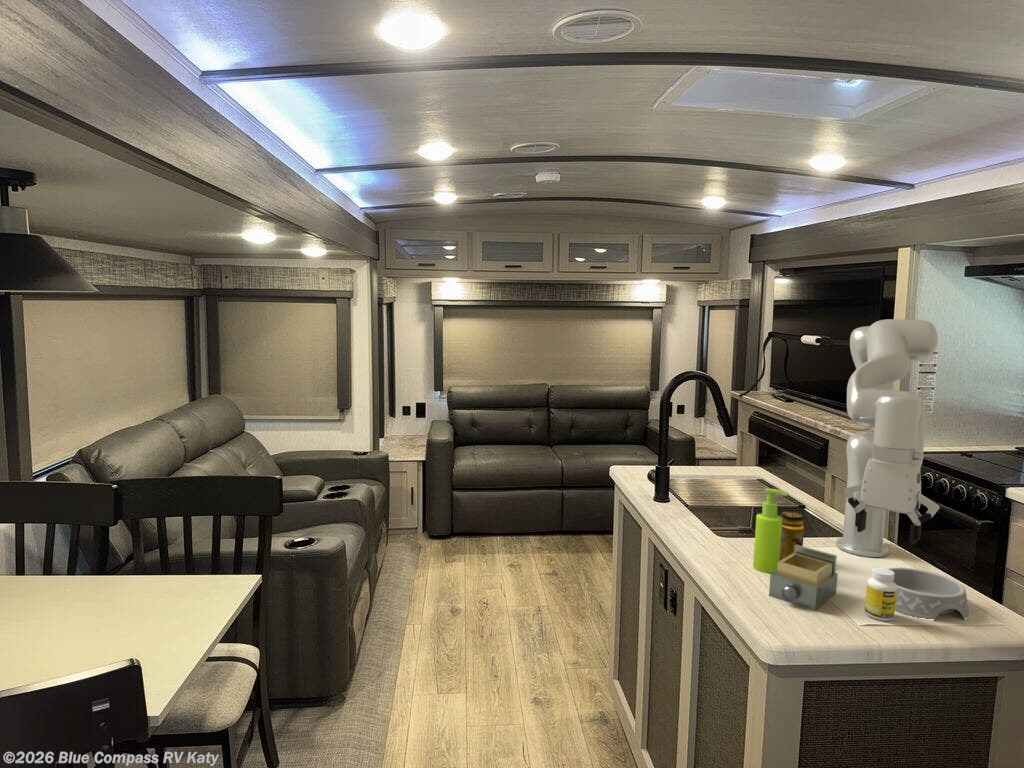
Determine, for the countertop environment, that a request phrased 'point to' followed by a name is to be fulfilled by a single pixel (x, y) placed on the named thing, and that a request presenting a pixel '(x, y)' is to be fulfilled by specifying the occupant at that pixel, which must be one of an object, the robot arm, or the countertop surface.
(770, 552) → the soap dispenser
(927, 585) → the dog bowl
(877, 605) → the supplement bottle
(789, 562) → the grey and tan box
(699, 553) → the countertop surface
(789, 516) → the condiment
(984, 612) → the countertop surface
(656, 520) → the countertop surface
